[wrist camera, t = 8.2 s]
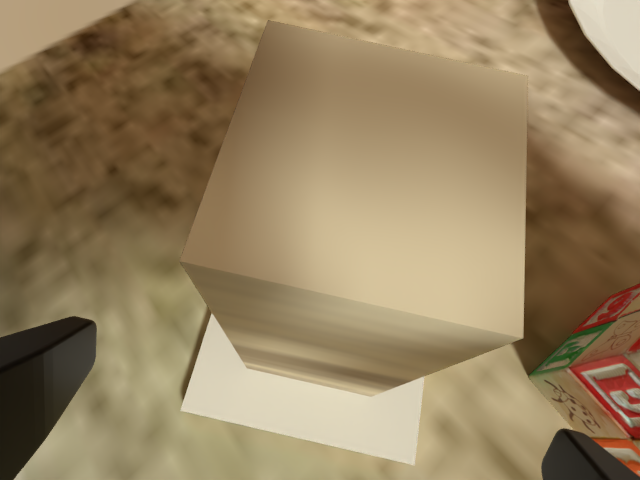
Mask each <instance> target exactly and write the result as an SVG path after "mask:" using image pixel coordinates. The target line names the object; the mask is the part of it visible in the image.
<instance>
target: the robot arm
mask: <svg viewBox="0 0 640 480" xmlns="http://www.w3.org/2000/svg"><path fill="white" fill-rule="evenodd" d="M96 332H97V328H96V324H95V322H94V321H93V320H89V319H85V318H81V317H76V316H72V317H68V318H65V319H61V320H58V321H55V322H51V323H48V324H44V325H41V326H38V327H34V328H31V329H28V330H24V331H21V332H17V333H14V334H11V335H7V336H4V337H0V480H13V479H14V478H15V477H16V476H17V474H18V473H19V472H20V471H21V469H22V468H23V467H24V466H25V464H26V463H27V462H28V461H29V459H30V458H31V457H32V456H33V454H34V453H35V452H36V451H37V449H38V448H39V447H40V445H41V444H42V443H43V442H44V440H45V439H46V438H47V436H48V435H49V433H50V432H51V430H52V429H53V427H54V426H55V424H56V423H57V421H58V420H59V418H60V417H61V415H62V414H63V412H64V411H65V409H66V407H67V406H68V404H69V403H70V401H71V400H72V398H73V397H74V395H75V394H76V392H77V391H78V389H79V388H80V386H81V384H82V383H83V381H84V380H85V378H86V377H87V375H88V374H89V372H90V371H91V369H92V367H93V365H94V362H95V358H96ZM541 469H542V477H543V480H640V477H639V476H638V475H637V474H635V473H634V472H633V471H632V470H630V469H629V468H628V467H627V466H625V465H624V464H623V463H622V462H620V461H619V460H618V459H617V458H615V457H614V456H613V455H612V454H610V453H609V452H608V451H606V450H605V449H604V448H603V447H601V446H600V445H599V444H598V443H596V442H595V441H594V440H593V439H591V438H590V437H589V436H588V435H586V434H584V433H582V432H578V431H574V430H569V429H564V428H563V429H560V430H559V431H557V433H556V434H555V436H554V438H553V440H552V442H551V444H550V446H549V448H548V450H547V452H546V454H545V456H544V458H543V461H542V467H541Z"/></svg>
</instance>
